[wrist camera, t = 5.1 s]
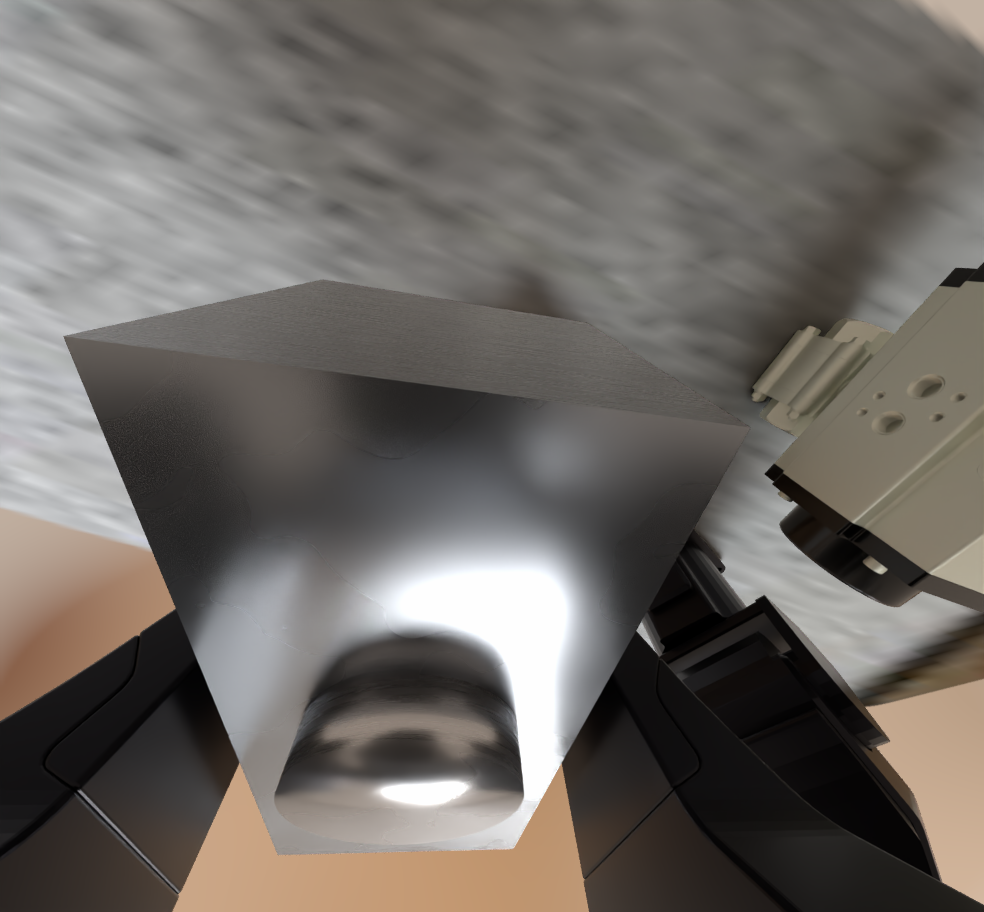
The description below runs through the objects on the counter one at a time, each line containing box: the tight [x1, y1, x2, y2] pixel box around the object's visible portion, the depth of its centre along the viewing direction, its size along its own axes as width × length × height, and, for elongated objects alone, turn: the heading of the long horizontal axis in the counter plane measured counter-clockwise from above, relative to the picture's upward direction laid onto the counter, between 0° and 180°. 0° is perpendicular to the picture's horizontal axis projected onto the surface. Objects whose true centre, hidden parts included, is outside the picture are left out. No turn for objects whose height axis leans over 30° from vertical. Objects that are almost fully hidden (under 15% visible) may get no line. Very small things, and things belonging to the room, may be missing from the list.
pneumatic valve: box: [751, 263, 984, 613], centre depth 13 cm, size 6×12×12 cm, turn 157°
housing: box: [63, 280, 750, 855], centre depth 7 cm, size 11×5×6 cm, turn 171°
